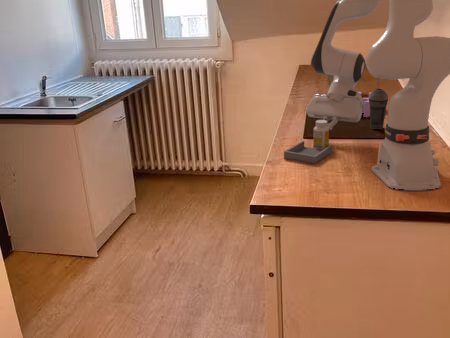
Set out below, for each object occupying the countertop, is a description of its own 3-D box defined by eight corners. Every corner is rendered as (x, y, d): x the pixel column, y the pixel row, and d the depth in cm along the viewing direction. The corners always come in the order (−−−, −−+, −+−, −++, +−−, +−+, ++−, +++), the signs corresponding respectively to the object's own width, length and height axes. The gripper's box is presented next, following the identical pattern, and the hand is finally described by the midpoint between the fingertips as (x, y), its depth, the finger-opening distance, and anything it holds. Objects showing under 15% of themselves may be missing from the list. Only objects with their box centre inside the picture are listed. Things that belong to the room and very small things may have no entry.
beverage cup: (373, 131, 179) (376, 79, 171) (363, 127, 185) (365, 76, 178) (390, 129, 180) (393, 77, 173) (379, 124, 187) (382, 75, 180)
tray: (302, 147, 167) (302, 140, 166) (332, 152, 160) (332, 145, 159) (284, 158, 157) (283, 151, 156) (315, 164, 150) (315, 156, 149)
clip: (375, 118, 197) (376, 102, 194) (345, 117, 201) (345, 101, 199) (379, 106, 214) (379, 92, 211) (351, 106, 218) (351, 91, 216)
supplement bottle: (315, 150, 163) (315, 124, 159) (311, 145, 168) (311, 120, 164) (330, 149, 163) (331, 122, 160) (326, 144, 168) (326, 118, 165)
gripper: (310, 89, 174) (298, 120, 170) (363, 93, 162) (351, 127, 158) (316, 98, 179) (303, 129, 175) (367, 103, 167) (356, 136, 163)
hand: (326, 128), depth 166 cm, fingers closed
